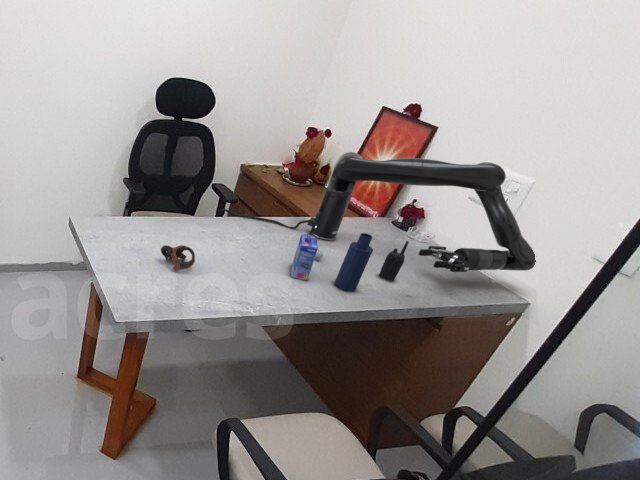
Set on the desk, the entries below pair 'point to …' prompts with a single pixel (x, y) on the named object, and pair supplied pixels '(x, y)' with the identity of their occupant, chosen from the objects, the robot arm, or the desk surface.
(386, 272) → the two-way radio
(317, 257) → the smooth white sculpture
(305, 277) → the ink cartridge box
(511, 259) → the robot arm
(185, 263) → the brown curled piece
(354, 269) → the bottle
